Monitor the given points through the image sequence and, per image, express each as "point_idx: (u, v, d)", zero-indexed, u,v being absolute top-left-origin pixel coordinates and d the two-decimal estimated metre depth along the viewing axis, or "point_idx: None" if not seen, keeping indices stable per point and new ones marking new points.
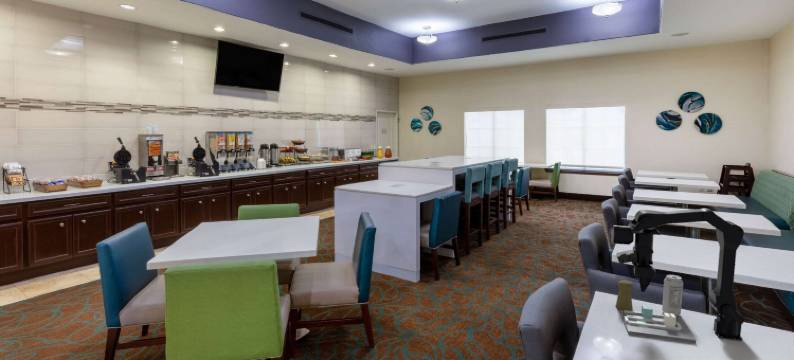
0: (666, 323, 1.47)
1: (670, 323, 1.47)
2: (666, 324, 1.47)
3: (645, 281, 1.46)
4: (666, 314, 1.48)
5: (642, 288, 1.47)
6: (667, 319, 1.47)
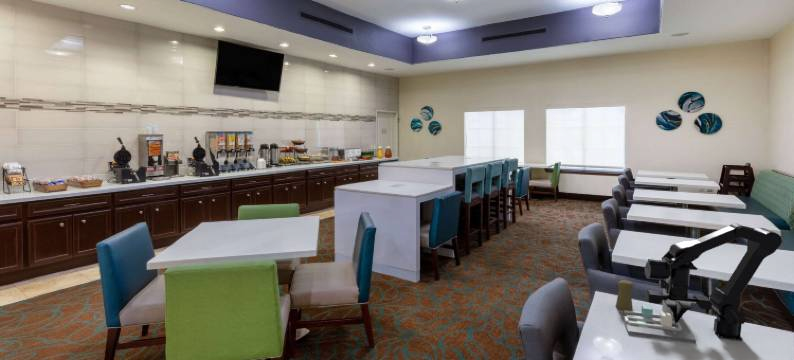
0: (662, 323, 1.48)
1: (666, 323, 1.47)
2: (662, 324, 1.48)
3: None
4: (662, 314, 1.49)
5: (673, 318, 1.48)
6: (663, 319, 1.47)
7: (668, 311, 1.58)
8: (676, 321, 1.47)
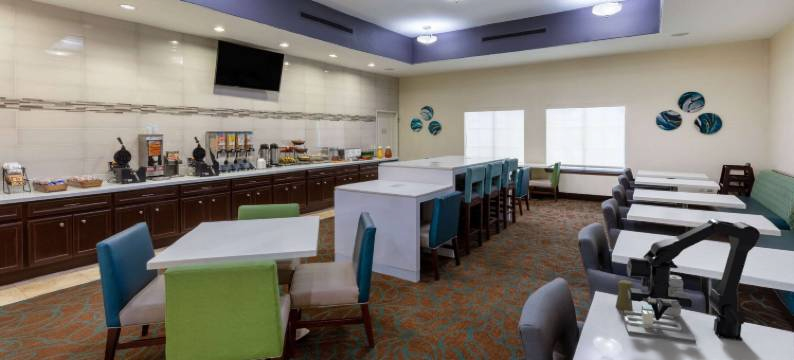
0: (644, 320, 1.50)
1: (648, 321, 1.49)
2: (644, 321, 1.50)
3: None
4: (644, 311, 1.51)
5: None
6: (645, 316, 1.49)
7: (668, 311, 1.58)
8: (657, 319, 1.49)
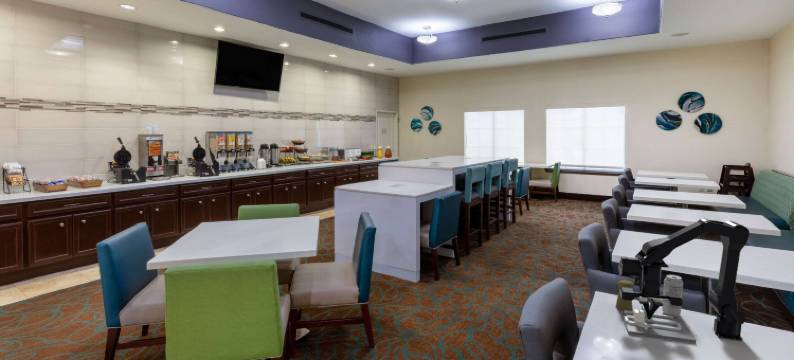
0: (635, 319, 1.51)
1: (639, 320, 1.50)
2: (635, 320, 1.51)
3: (645, 307, 1.50)
4: (636, 310, 1.52)
5: (646, 314, 1.51)
6: (636, 315, 1.50)
7: (668, 311, 1.58)
8: (649, 318, 1.50)
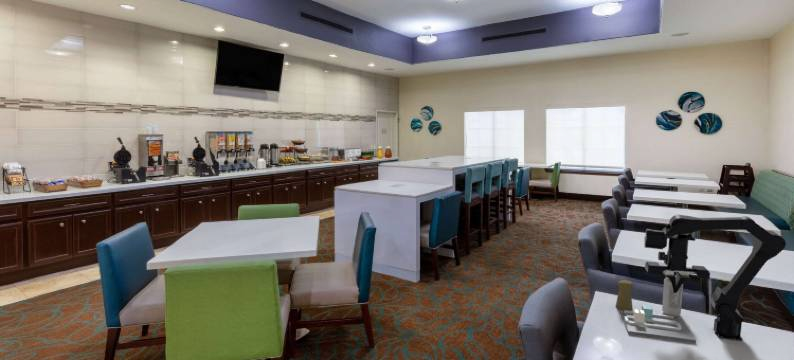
0: (635, 319, 1.51)
1: (639, 320, 1.50)
2: (635, 320, 1.51)
3: (671, 281, 1.49)
4: (636, 310, 1.52)
5: (672, 288, 1.50)
6: (636, 315, 1.50)
7: (668, 311, 1.58)
8: (675, 291, 1.49)
